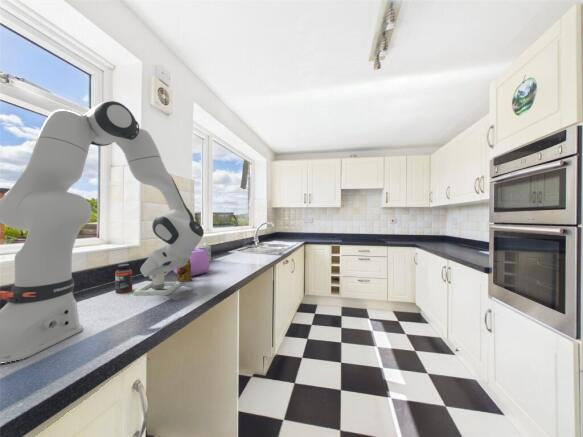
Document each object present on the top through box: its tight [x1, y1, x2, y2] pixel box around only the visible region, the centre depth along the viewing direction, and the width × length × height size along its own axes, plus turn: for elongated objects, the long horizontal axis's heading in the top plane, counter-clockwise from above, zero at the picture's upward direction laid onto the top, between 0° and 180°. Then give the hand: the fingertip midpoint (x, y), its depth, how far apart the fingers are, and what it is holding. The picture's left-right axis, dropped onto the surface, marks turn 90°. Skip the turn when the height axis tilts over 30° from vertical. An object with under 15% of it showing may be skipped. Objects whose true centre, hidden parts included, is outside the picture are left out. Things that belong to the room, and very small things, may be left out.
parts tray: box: [133, 281, 181, 296], centre depth 103 cm, size 13×13×2 cm
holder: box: [165, 289, 199, 302], centre depth 97 cm, size 9×9×1 cm
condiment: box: [175, 259, 193, 283], centre depth 119 cm, size 7×8×12 cm
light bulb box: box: [195, 245, 212, 263], centre depth 166 cm, size 11×7×11 cm, turn 153°
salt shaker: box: [151, 272, 165, 290], centre depth 103 cm, size 4×4×10 cm
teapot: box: [172, 249, 210, 278], centre depth 133 cm, size 23×21×15 cm
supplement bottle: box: [114, 263, 133, 294], centre depth 104 cm, size 6×6×11 cm
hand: (157, 275), depth 103 cm, fingers closed on salt shaker, 4 cm apart
